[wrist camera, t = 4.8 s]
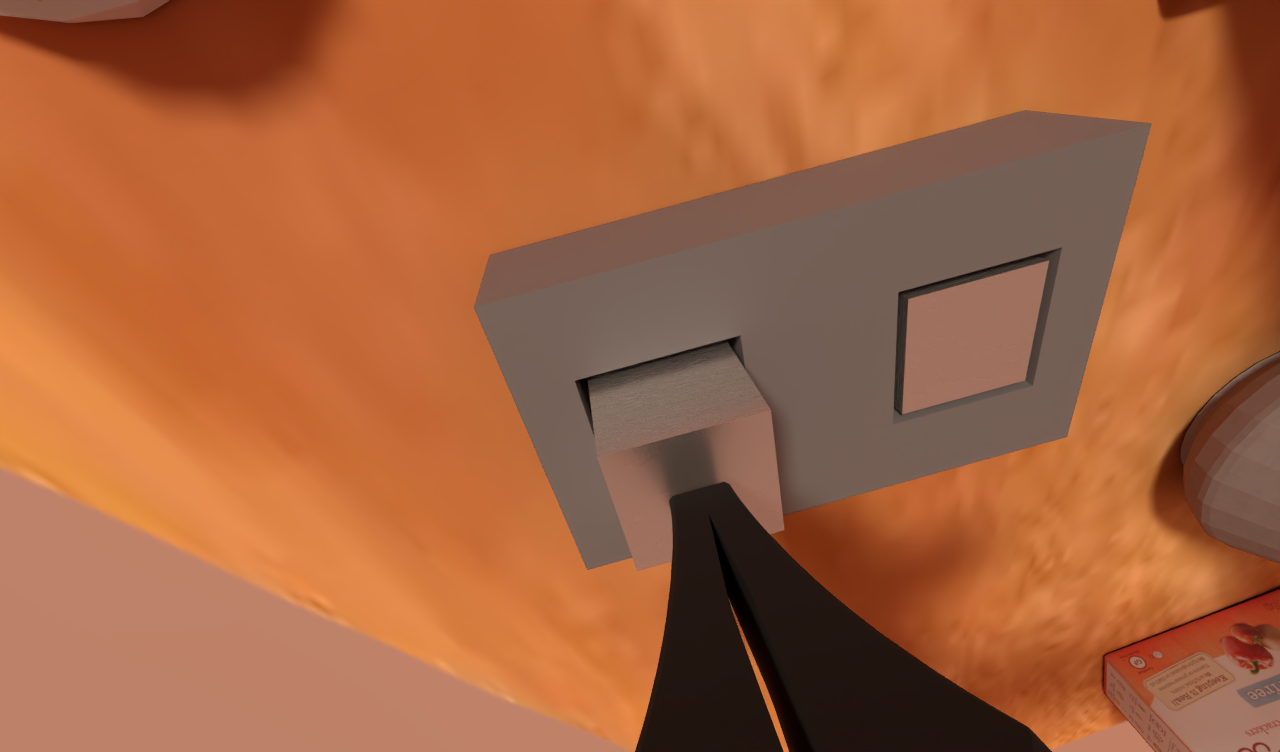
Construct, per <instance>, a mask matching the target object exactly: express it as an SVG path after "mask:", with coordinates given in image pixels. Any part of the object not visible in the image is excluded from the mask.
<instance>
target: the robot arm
mask: <svg viewBox="0 0 1280 752" xmlns="http://www.w3.org/2000/svg"><path fill="white" fill-rule="evenodd" d="M669 504H670V509H671V517H672V532H673V550H672V569H671V584H670V592H669V601H668V609H667V617H666V624H665V630H664V636H663V642H662V647H661V652H660V658H659V663H658V667H657V672H656V676H655V680H654V685H653V689H652V693H651V698H650V702H649V705H648V709H647V713H646V717H645V721H644V724H643V727H642V731H641V734H640V737H639V741H638V744H637V747H636V751H635V752H783V749H782V746H781V744H780V741H779V738H778V736H777V733H776V730H775V728H774V725H773V722H772V720H771V717H770V714H769V712H768V709H767V706H766V704H765V701H764V698H763V695H762V693H761V690H760V687H759V684H758V682H757V679H756V676H755V673H754V671H753V668H752V665H751V662H750V660H749V657H748V654H747V651H746V649H745V646H744V643H743V640H742V637H741V635H740V632H739V629H738V626H737V623H736V621H735V618H734V615H733V612H732V609H731V605H732V607H733V609H734V612H735V614H736V616H737V619H738V621H739V623H740V626H741V628H742V630H743V633H744V635H745V637H746V640H747V642H748V644H749V647H750V649H751V651H752V654H753V656H754V658H755V661H756V663H757V665H758V668H759V670H760V672H761V675H762V677H763V679H764V682H765V684H766V687H767V689H768V692H769V694H770V697H771V700H772V702H773V705H774V707H775V710H776V713H777V716H778V719H779V722H780V725H781V728H782V731H783V734H784V737H785V740H786V743H787V746H788V749H789V752H1052V751H1051V750H1050V749H1049V748H1048V747H1047V746H1046V745H1045V744H1044V743H1043V742H1042V741H1041V740H1040V739H1039V738H1038V737H1037V735H1036V734H1035V733H1034V732H1033V731H1032V730H1031V729H1030V728H1028V727H1027V726H1025V725H1024V724H1022V723H1020V722H1018V721H1017V720H1015V719H1013V718H1011V717H1010V716H1008V715H1006V714H1005V713H1003V712H1001V711H999V710H998V709H996V708H994V707H992V706H991V705H989V704H987V703H986V702H984V701H982V700H981V699H979V698H977V697H976V696H974V695H972V694H971V693H969V692H967V691H966V690H964V689H963V688H961V687H959V686H958V685H956V684H955V683H953V682H952V681H950V680H949V679H947V678H945V677H944V676H942V675H941V674H939V673H938V672H936V671H934V670H933V669H931V668H930V667H928V666H927V665H925V664H924V663H923V662H921V661H920V660H918V659H917V658H915V657H914V656H913V655H911V654H910V653H908V652H907V651H905V650H904V649H903V648H901V647H900V646H898V645H897V644H895V643H894V642H893V641H891V640H890V639H888V638H887V637H885V636H884V635H883V634H881V633H880V632H879V631H877V630H876V629H875V628H873V627H872V626H871V625H869V624H868V623H867V622H866V621H864V620H863V619H862V618H860V617H859V616H858V615H856V614H855V613H854V612H853V611H852V610H850V609H849V608H848V607H847V606H845V605H844V604H843V603H842V602H841V601H839V600H838V599H837V598H836V597H835V596H833V595H832V594H831V593H830V592H829V591H828V590H826V589H825V588H824V587H823V586H822V585H821V584H820V583H819V582H817V581H816V580H815V579H814V578H813V577H812V576H811V575H810V574H809V573H808V572H807V571H806V570H805V569H803V568H802V567H801V566H800V565H799V564H798V563H797V562H796V561H795V560H794V559H793V558H792V557H791V556H790V555H789V554H788V553H787V552H786V551H785V550H784V549H783V548H782V547H781V546H780V545H779V544H778V543H777V541H776V540H775V539H774V538H773V537H772V536H771V535H770V534H769V533H768V532H767V531H766V530H765V529H764V528H763V526H762V525H761V524H760V523H759V522H758V521H757V520H756V518H755V517H754V516H753V515H752V514H751V512H750V511H749V510H748V509H747V507H746V506H745V505H744V504H743V502H742V501H741V500H740V498H739V497H738V496H737V494H736V493H735V491H734V490H733V489H732V487H731V485H730V484H729V483H726V482H721V483H717V484H714V485H710V486H706V487H703V488H699V489H695V490H692V491H688V492H685V493H681V494H677V495H674V496H672V497H671V499H670V500H669ZM729 600H730V602H731V605H730V602H729Z"/></svg>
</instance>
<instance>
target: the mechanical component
mask: <svg viewBox="0 0 1280 752" xmlns="http://www.w3.org/2000/svg"><path fill="white" fill-rule="evenodd" d="M168 1H170V0H0V16H10V17H19V18H28V19H38V20H47V21H56V22H66V23H79V22H91V21H103V20H114V19H126V18H137V17H144V16H146V15H147V14H149V13H150V12H152V11H154V10H155V9H157V8H158V7H160V6H162V5H163V4H165V3H167V2H168Z"/></svg>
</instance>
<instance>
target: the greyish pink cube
mask: <svg viewBox="0 0 1280 752" xmlns="http://www.w3.org/2000/svg"><path fill="white" fill-rule="evenodd" d="M587 379H588V387H589V395H590V403H591V411H592V420H593V428H594V436H595V444H596V452H597V458H598V461H599V464H600V467H601V470H602V473H603V475H604V478H605V481H606V484H607V487H608V490H609V492H610V495H611V498H612V501H613V504H614V507H615V509H616V512H617V515H618V518H619V521H620V523H621V526H622V529H623V532H624V535H625V538H626V540H627V543H628V546H629V549H630V552H631V555H632V557H633V560H634V563H635V566H636V569H637V571H639V570H643V569H646V568H650V567H654V566H657V565H661V564H664V563H668V562H672V550H673V532H672V517H671V509H670V504H669V500H670V499H671V497H672V496H674V495H677V494H681V493H685V492H688V491H692V490H695V489H699V488H703V487H706V486H710V485H714V484H717V483H721V482H726V483H729V484H730V485H731V487H732V489H733V490H734V491H735V493H736V494H737V496H738V497H739V498H740V500H741V501H742V502H743V504H744V505H745V506H746V507H747V509H748V510H749V511H750V512H751V514H752V515H753V516H754V517H755V518H756V520H757V521H758V522H759V523H760V524H761V525H762V526H763V528H764V529H765V530H766V531H767V532H768V533H769V534H772V533H776V532H780V531H783V530H784V521H783V512H782V503H781V494H780V486H779V477H778V468H777V459H776V450H775V441H774V433H773V424H772V415H771V409H770V408H769V406H768V405H767V403H766V401H765V400H764V398H763V397H762V395H761V394H760V392H759V390H758V389H757V387H756V386H755V384H754V383H753V381H752V379H751V378H750V376H749V375H748V373H747V372H746V370H745V369H744V367H743V365H742V364H741V362H740V361H739V359H738V358H737V356H736V354H735V353H734V351H733V350H732V348H731V347H730V345H729V344H728V342H727V340H726V339H725V340H722V341H718V342H714V343H711V344H707V345H703V346H700V347H696V348H692V349H689V350H685V351H681V352H678V353H674V354H671V355H667V356H663V357H660V358H656V359H652V360H649V361H645V362H641V363H638V364H634V365H630V366H627V367H623V368H619V369H616V370H612V371H608V372H605V373H601V374H597V375H594V376H590V377H587Z"/></svg>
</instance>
